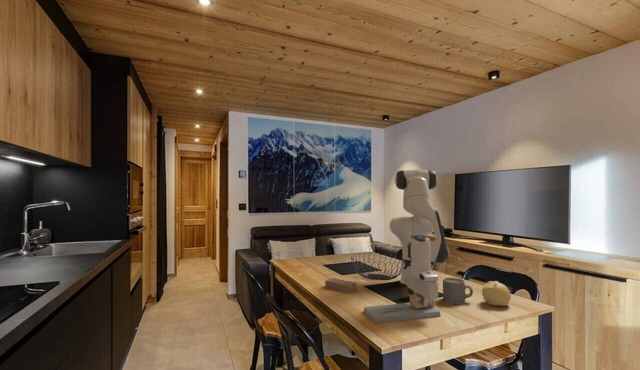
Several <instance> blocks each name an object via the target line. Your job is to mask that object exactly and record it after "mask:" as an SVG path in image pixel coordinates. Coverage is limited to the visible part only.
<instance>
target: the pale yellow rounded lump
mask: <svg viewBox="0 0 640 370" xmlns="http://www.w3.org/2000/svg"><path fill="white" fill-rule="evenodd" d="M481 295H482V298H483V300H484V301H485V302H486V303H487V304H488V305H489V306H495V307H498V306H499V307H506V306H508V305H509V303H510V301H511V291H510V290H509V288H508V287H507V286H506V285H505V284H503V283H502V282H499V281H498V280H494V281H491V280H490V281H489V280H488V282H486V283H485V284H484V285H483V286H482V288H481Z"/></svg>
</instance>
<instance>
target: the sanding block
mask: <svg viewBox="0 0 640 370" xmlns="http://www.w3.org/2000/svg"><path fill="white" fill-rule="evenodd" d="M409 296H410V297H409V303H410V307H411V308H413V309H414V310H418V309H429V308H433V307H434V300H429V301H428V306H423V305H422V304H423V303H422V301H424V298H423V296H422V295H421V294H417V295H409Z"/></svg>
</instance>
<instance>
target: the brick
mask: <svg viewBox="0 0 640 370" xmlns="http://www.w3.org/2000/svg"><path fill="white" fill-rule="evenodd" d="M324 285H325V288H326V289H329V290H335V291H337V292H342V293H347V294H351V292H352V293H353V292H356V291H357V290H358V283H357V282H355V281H351V280H344V279H340V278H337V277H330V278H328V279H326V280H325V282H324Z"/></svg>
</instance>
